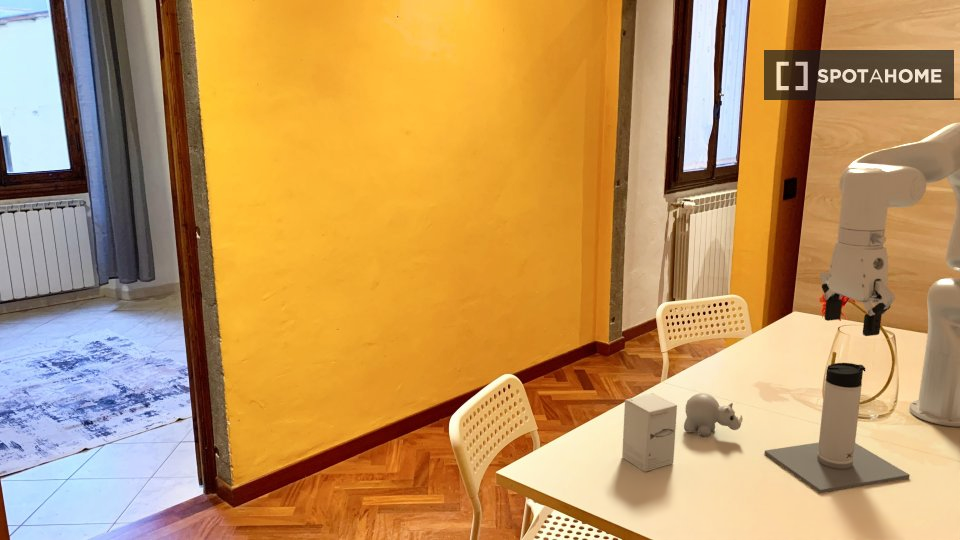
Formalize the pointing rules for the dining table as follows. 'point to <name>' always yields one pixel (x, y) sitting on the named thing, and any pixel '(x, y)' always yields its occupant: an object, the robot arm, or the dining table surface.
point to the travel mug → (840, 415)
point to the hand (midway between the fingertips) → (850, 327)
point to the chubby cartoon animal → (708, 415)
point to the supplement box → (649, 431)
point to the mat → (830, 479)
